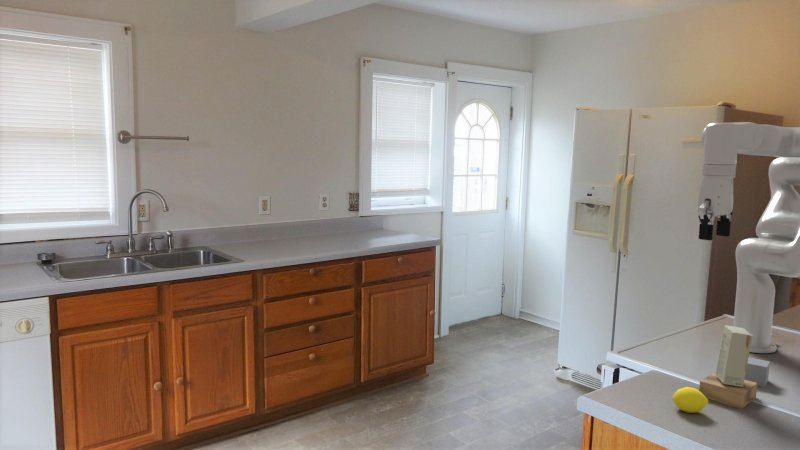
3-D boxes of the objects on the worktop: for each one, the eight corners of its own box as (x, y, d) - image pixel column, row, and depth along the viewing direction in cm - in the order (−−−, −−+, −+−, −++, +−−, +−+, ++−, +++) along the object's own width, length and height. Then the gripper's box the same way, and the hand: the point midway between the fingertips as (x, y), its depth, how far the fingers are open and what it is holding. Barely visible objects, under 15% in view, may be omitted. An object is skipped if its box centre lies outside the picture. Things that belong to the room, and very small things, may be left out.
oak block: (714, 387, 140) (715, 371, 140) (755, 399, 134) (757, 383, 133) (698, 397, 135) (700, 381, 134) (741, 410, 128) (742, 393, 127)
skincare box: (743, 388, 130) (754, 336, 128) (722, 384, 131) (732, 332, 129) (734, 377, 136) (744, 327, 134) (714, 373, 137) (724, 324, 135)
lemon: (672, 415, 126) (670, 390, 125) (674, 405, 130) (672, 382, 130) (708, 418, 122) (706, 393, 122) (710, 409, 127) (708, 384, 126)
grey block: (744, 376, 147) (746, 356, 146) (767, 381, 144) (769, 361, 143) (741, 382, 143) (743, 362, 142) (765, 387, 140) (767, 367, 139)
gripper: (719, 170, 157) (714, 232, 159) (687, 172, 147) (683, 239, 149) (749, 171, 151) (744, 236, 154) (718, 173, 141) (713, 243, 143)
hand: (714, 237), depth 151 cm, fingers open, 9 cm apart
